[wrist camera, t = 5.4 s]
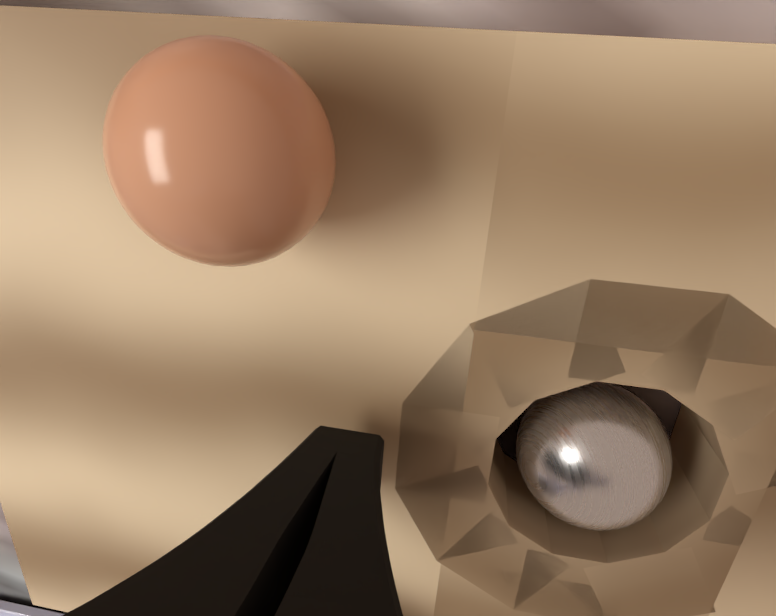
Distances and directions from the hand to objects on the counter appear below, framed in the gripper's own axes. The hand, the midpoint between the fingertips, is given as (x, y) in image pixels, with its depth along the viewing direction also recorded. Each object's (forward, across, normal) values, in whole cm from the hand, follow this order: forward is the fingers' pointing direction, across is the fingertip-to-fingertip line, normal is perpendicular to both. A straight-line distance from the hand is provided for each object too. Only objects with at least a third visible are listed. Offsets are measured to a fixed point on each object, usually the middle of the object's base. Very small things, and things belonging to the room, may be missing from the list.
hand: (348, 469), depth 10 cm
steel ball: (+2, -5, 0) cm, 5 cm away
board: (+3, 0, 0) cm, 3 cm away
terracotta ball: (-1, +2, -6) cm, 6 cm away
